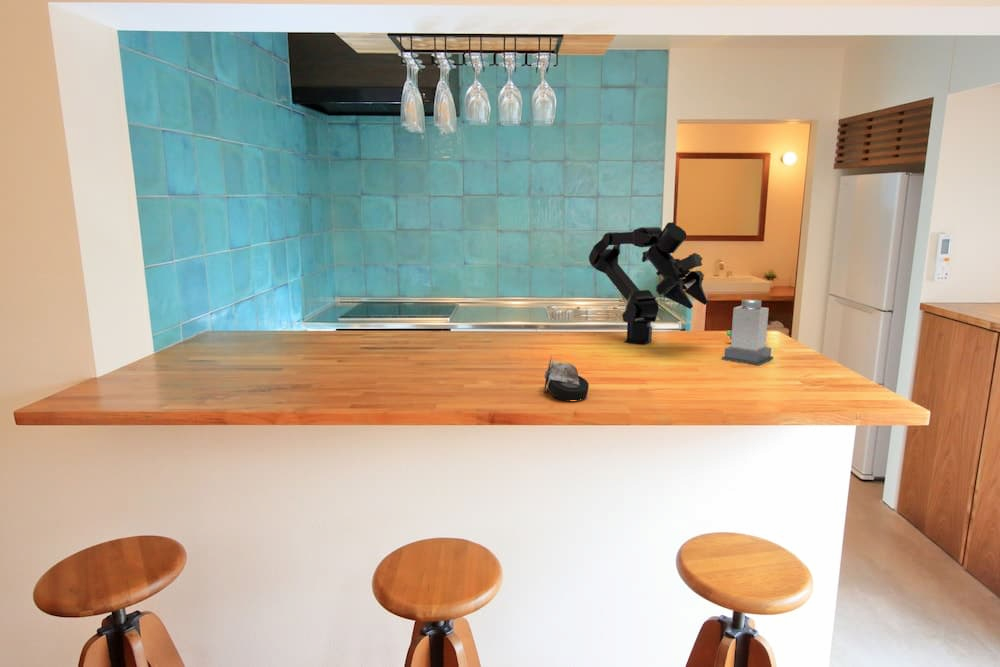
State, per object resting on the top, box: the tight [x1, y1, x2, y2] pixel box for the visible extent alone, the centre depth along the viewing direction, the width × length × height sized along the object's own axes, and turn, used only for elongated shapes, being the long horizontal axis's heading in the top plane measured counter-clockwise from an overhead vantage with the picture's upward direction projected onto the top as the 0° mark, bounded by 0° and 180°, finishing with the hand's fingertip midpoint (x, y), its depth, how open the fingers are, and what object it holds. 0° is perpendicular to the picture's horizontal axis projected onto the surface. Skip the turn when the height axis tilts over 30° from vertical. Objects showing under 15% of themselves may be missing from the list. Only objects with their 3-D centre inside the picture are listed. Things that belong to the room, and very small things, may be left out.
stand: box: [721, 345, 774, 366], centre depth 173 cm, size 10×10×3 cm
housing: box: [730, 298, 770, 352], centre depth 171 cm, size 7×6×13 cm
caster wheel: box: [543, 355, 590, 401], centre depth 142 cm, size 7×11×10 cm
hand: (699, 305), depth 177 cm, fingers open, 9 cm apart
